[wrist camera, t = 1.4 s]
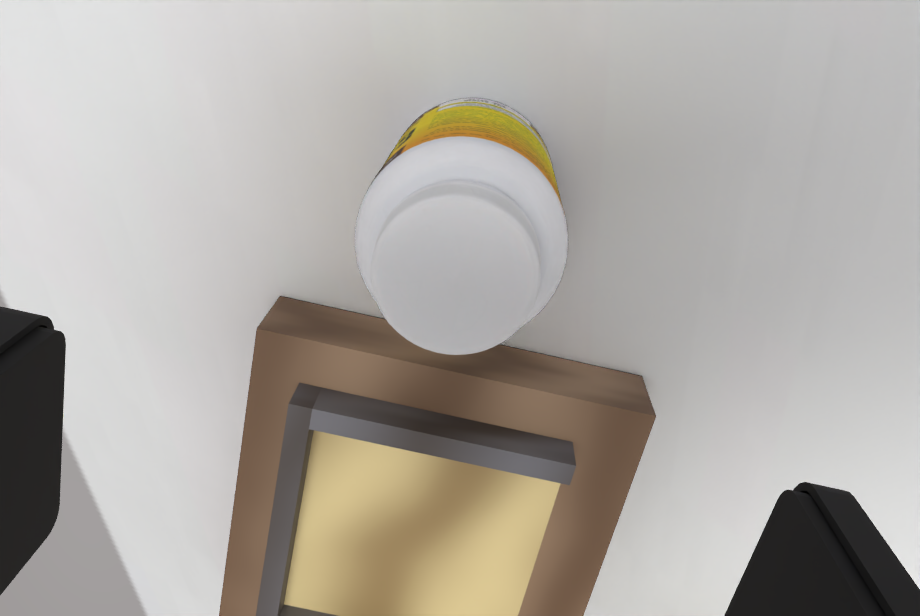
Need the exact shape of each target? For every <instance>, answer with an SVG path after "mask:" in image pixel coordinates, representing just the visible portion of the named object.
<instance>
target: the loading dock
mask: <svg viewBox="0 0 920 616" xmlns="http://www.w3.org/2000/svg"><path fill="white" fill-rule="evenodd" d="M655 418H656V415H655V412H654V409H653V406H652V403H651V400H650V398H649V395H648V392H647V389H646V386H645V383H644V381H643V378H642V376H639V375H634V374H630V373H625V372H621V371H616V370H612V369H607V368H603V367H598V366H593V365H589V364H584V363H580V362H575V361H571V360H566V359H562V358H557V357H553V356H548V355H544V354H539V353H535V352H530V351H526V350H521V349H517V348H512V347H508V346H503V345H499V344H498V345H496V346H494V347H492V348H490V349H487V350H485V351H481V352H478V353H472V354H465V355H449V354H442V353H436V352H433V351H430V350H426V349H423V348H421V347H419V346H417V345H415V344H413V343H412V342H410V341H408V340H407V339H406V338H404V337H403V336H402V335H400V334H399V333H398V332H397V331H396V330H395V329H394V328H393V327H392V326H391V325H390V324H389V323H388V322H387V320H386V319H381V318H377V317H372V316H368V315H363V314H359V313H354V312H350V311H345V310H341V309H336V308H332V307H327V306H323V305H318V304H314V303H309V302H304V301H300V300H295V299H291V298H286V297H282V296H280V297H279V298H278V299H277V301H276V302H275V304H274V305H273V306H272V308H271V309H270V311H269V312H268V314H267V315H266V316H265V318H264V319H263V321H262V322H261V323H260V325H259V326H258V328H257V331H256V339H255V347H254V354H253V362H252V369H251V377H250V385H249V392H248V400H247V407H246V415H245V423H244V430H243V438H242V445H241V453H240V461H239V468H238V476H237V483H236V491H235V499H234V506H233V514H232V521H231V529H230V537H229V544H228V552H227V559H226V567H225V575H224V582H223V590H222V597H221V605H220V613H219V616H583V615H584V612H585V609H586V607H587V604H588V601H589V598H590V596H591V593H592V590H593V587H594V585H595V582H596V579H597V577H598V574H599V571H600V568H601V566H602V563H603V560H604V557H605V555H606V552H607V549H608V546H609V544H610V541H611V538H612V535H613V533H614V530H615V527H616V524H617V522H618V519H619V516H620V514H621V511H622V508H623V505H624V503H625V500H626V497H627V494H628V492H629V489H630V486H631V483H632V481H633V478H634V475H635V472H636V470H637V467H638V464H639V461H640V459H641V456H642V453H643V451H644V448H645V445H646V442H647V440H648V437H649V434H650V431H651V429H652V426H653V423H654V420H655Z"/></svg>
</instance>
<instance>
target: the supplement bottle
mask: <svg viewBox="0 0 920 616" xmlns="http://www.w3.org/2000/svg"><path fill="white" fill-rule="evenodd" d="M355 252H356V259H357V264H358V267H359V270H360V273H361V276H362V278H363V280H364V283H365V285H366V287H367V289H368V290H369V292H370V294H371V295H372V297H373V298H374V300H375V301H376V302H377V305H378V307H379V309H380V311H381V313H382V314H383V316H384V317H385V319H386V320H387V322H388V323H389V324H390V325H391V326H392V327H393V328H394V329H395V330H396V331H397V332H398V333H399V334H400V335H402V336H403V337H404V338H406V339H407V340H408V341H410V342H412V343H413V344H415V345H417V346H419V347H421V348H423V349H426V350H430V351H433V352H436V353H442V354H449V355H465V354H472V353H478V352H481V351H485V350H487V349H490V348H492V347H494V346H496V345H498V344H500V343H502V342H504V341H505V340H507V339H508V338H509V337H510V336H512V335H513V334H514V333H515V332H516V331H517V330H518V329H519V328H521V327H522V326H523V325H525V324H526V323H528V322H529V321H530V320H531V319H533V318H534V317H535V316H536V315H537V314H538V313H539V312H540V311H541V310H542V309H543V308H544V307H545V306H546V304H547V303H548V302H549V300H550V299H551V297H552V296H553V294H554V292H555V291H556V289H557V287H558V285H559V283H560V280H561V278H562V275H563V272H564V269H565V265H566V260H567V252H568V231H567V224H566V219H565V214H564V210H563V207H562V203H561V199H560V195H559V191H558V187H557V183H556V179H555V175H554V171H553V167H552V163H551V159H550V156H549V153H548V151H547V148H546V146H545V144H544V142H543V140H542V138H541V136H540V135H539V133H538V132H537V130H536V129H535V128H534V127H533V125H532V124H531V123H530V122H529V121H528V120H527V119H526V118H524V117H523V116H522V115H521V114H519V113H518V112H516V111H515V110H513V109H511V108H509V107H507V106H505V105H503V104H501V103H498V102H495V101H491V100H486V99H480V98H463V99H456V100H452V101H448V102H445V103H442V104H440V105H438V106H435V107H433V108H432V109H430V110H428V111H427V112H425V113H424V114H422V115H421V116H420V117H419V118H418V119H416V120H415V121H414V122H413V123H412V124H411V126H410V127H409V128H408V129H407V130H406V132H405V133H404V134H403V136H402V137H401V139H400V140H399V142H398V143H397V145H396V146H395V148H394V149H393V151H392V152H391V154H390V156H389V157H388V159H387V160H386V162H385V164H384V165H383V167H382V168H381V170H380V171H379V173H378V174H377V175H376V177H375V179H374V180H373V182H372V183H371V185H370V187H369V189H368V190H367V193H366V195H365V197H364V199H363V201H362V204H361V206H360V210H359V213H358V217H357V221H356V228H355Z"/></svg>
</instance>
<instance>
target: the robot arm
mask: <svg viewBox="0 0 920 616" xmlns="http://www.w3.org/2000/svg"><path fill="white" fill-rule="evenodd" d="M65 348H66V343H65V337H64V334H63V333H62V332H61V331H56V330H54V326H53V324H52V321H51V320H50V319H49V318H48V317H46V316H42V315H37V314H32V313H28V312H23V311H19V310H14V309H9V308H5V307H0V595H1V594H2V593H3V591H4V590H5V589H6V588H7V586H8V585H9V584H10V583H11V581H12V580H13V579H14V578H15V576H16V575H17V574H18V573H19V571H20V570H21V569H22V568H23V566H24V565H25V564H26V563H27V562H28V560H29V559H30V558H31V556H32V555H33V554H34V553H35V552H36V550H37V549H38V548H39V547H40V545H41V544H42V543H43V541H44V540H45V539H46V538H47V536H48V535H49V534H50V532H51V530H52V528H53V526H54V524H55V522H56V519H57V515H58V511H59V504H60V477H61V451H62V449H61V448H62V426H63V400H64V374H65ZM725 616H920V589H919V588H918V587H917V585H916V584H915V582H914V581H913V580H912V578H911V577H910V575H909V574H908V572H907V571H906V570H905V568H904V567H903V565H902V564H901V563H900V561H899V560H898V558H897V557H896V555H895V554H894V553H893V551H892V550H891V548H890V547H889V546H888V544H887V543H886V541H885V540H884V538H883V537H882V536H881V534H880V533H879V531H878V530H877V529H876V527H875V526H874V524H873V523H872V521H871V520H870V519H869V517H868V516H867V514H866V513H865V512H864V510H863V509H862V507H861V506H860V504H859V503H858V502H857V500H856V499H855V497H854V496H853V495H852V494H851V493H850V492H847V491H844V490H839V489H835V488H830V487H825V486H821V485H816V484H812V483H807V482H803V483H800V484H799V485H798V486H796V487H795V488H794V490H793V491H792V490H786V491H784V492H783V493H782V494H781V495H780V497H779V498H778V500H777V502H776V504H775V506H774V509H773V511H772V513H771V515H770V517H769V520H768V522H767V524H766V526H765V528H764V530H763V533H762V535H761V537H760V539H759V541H758V544H757V546H756V548H755V550H754V552H753V554H752V557H751V559H750V561H749V563H748V565H747V568H746V570H745V572H744V574H743V576H742V578H741V581H740V583H739V585H738V587H737V589H736V592H735V594H734V596H733V598H732V600H731V602H730V605H729V607H728V609H727V611H726V613H725Z"/></svg>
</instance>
